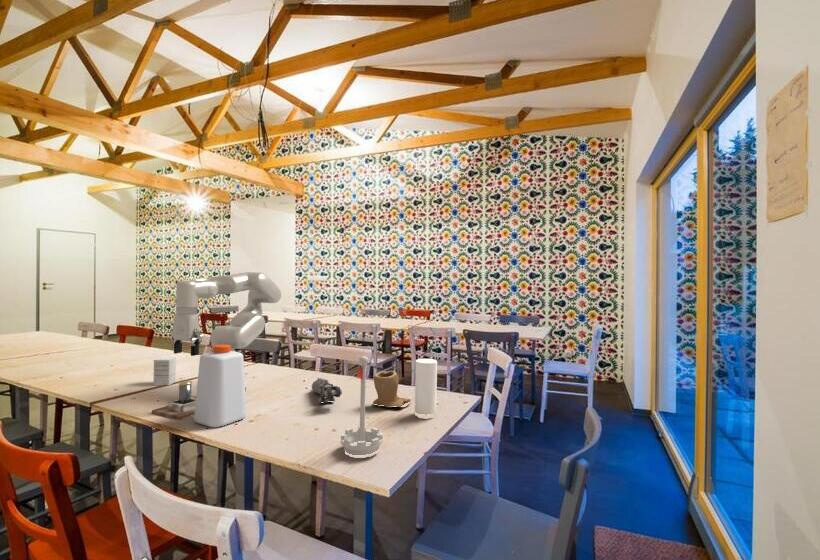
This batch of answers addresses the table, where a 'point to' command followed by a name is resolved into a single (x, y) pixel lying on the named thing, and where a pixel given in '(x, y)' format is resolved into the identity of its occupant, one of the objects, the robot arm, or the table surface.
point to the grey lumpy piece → (326, 390)
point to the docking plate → (177, 409)
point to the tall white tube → (425, 385)
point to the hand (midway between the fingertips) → (186, 354)
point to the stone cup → (388, 389)
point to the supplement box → (164, 371)
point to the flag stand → (361, 425)
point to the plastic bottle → (220, 388)
